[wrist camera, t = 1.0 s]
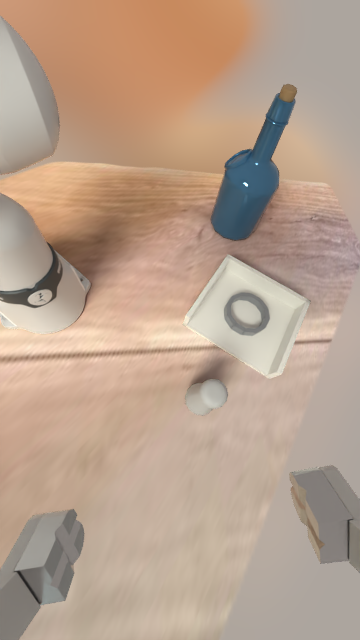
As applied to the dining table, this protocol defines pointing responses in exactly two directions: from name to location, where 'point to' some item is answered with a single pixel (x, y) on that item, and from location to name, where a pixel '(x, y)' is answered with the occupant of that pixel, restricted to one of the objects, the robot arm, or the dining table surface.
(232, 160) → the wine bottle
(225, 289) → the box
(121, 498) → the dining table surface
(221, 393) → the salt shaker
